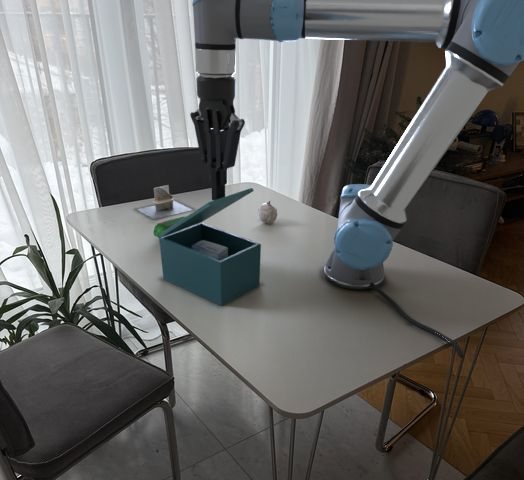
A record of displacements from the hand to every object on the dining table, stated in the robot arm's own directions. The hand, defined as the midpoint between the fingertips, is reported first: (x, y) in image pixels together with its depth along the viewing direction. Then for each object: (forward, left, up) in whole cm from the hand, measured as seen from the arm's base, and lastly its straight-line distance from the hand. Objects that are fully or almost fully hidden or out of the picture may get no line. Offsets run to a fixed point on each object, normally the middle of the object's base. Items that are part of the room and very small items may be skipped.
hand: (218, 199), depth 103 cm
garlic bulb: (+18, -42, -22) cm, 50 cm away
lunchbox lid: (+4, 0, -5) cm, 6 cm away
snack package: (+29, -14, -22) cm, 39 cm away
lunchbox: (+3, 0, -21) cm, 22 cm away
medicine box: (+3, 0, -21) cm, 21 cm away
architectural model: (+50, -27, -22) cm, 61 cm away
